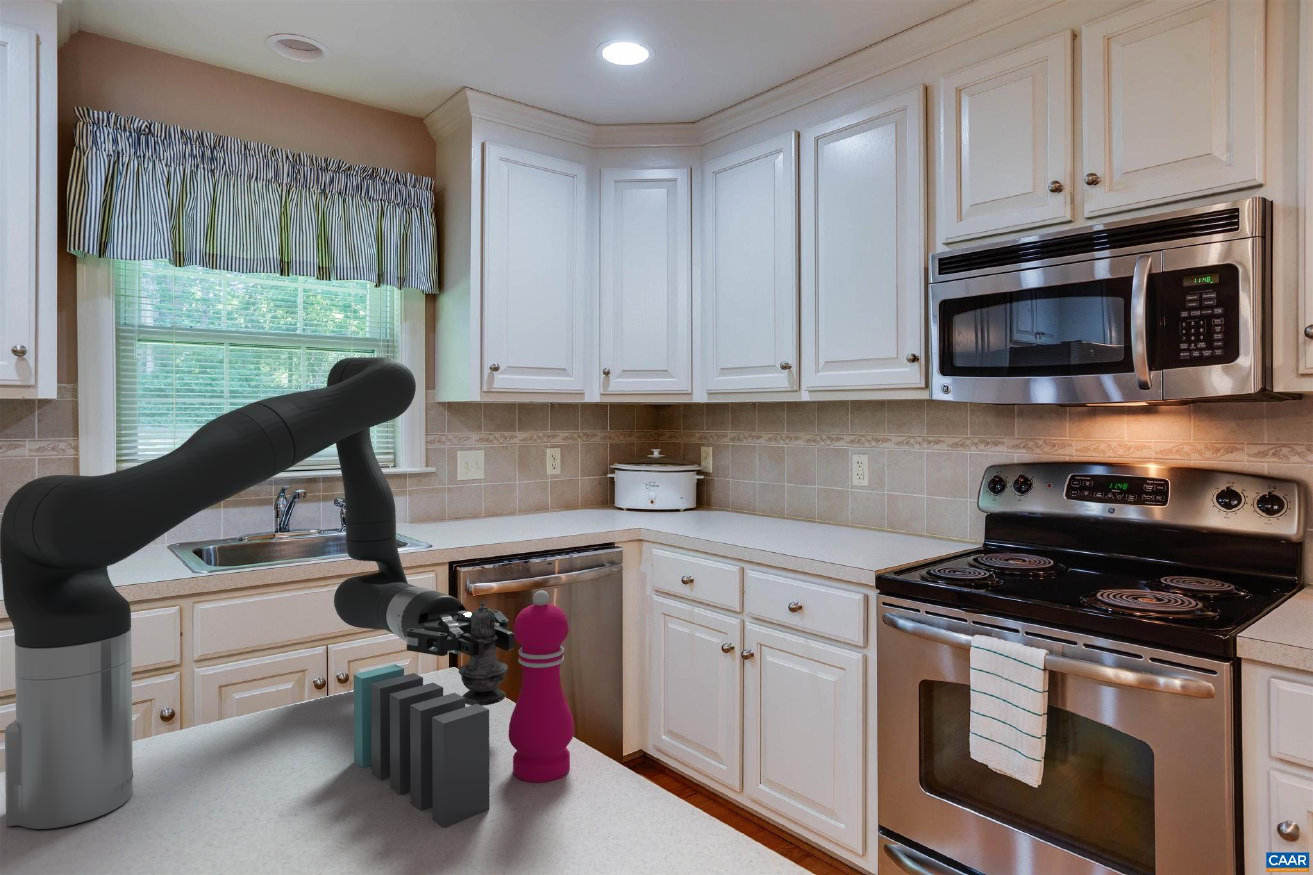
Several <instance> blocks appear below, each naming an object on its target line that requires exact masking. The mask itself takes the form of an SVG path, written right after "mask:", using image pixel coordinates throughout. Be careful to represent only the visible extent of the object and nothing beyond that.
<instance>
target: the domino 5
mask: <svg viewBox="0 0 1313 875" xmlns="http://www.w3.org/2000/svg"><path fill="white" fill-rule="evenodd" d="M432 790H433V807H432V820H433V822H435V823H437V824H438V825H439V826H440V827H442V828H443V829H445V828H447V827H450V826H452V825H455V824H458V823H461V822H462V821H464V820H467V819H469V818H471V817H474V816H476V815H479V814H481V813H484V812H486V811H489V810H490V809H491V808H490V803H491V802H490V709H489V708H487V707H485V706H481V705H479V704H475V705H468V706H465V708H461V709H458V710H455V711H451V712H448V713H445V714H441V715H438V716H435V717H432Z"/></svg>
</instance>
